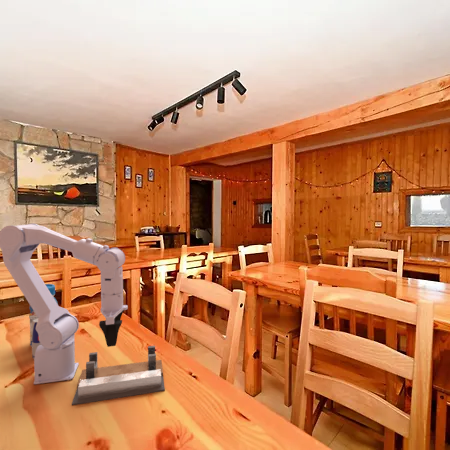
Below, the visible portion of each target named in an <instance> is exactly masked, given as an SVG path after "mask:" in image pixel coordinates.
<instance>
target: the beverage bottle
mask: <svg viewBox="0 0 450 450" xmlns="http://www.w3.org/2000/svg"><path fill="white" fill-rule="evenodd" d="M45 285H46V286H47V288H48V290H49V291H50V293H51V294H52V296H53V298H54V299H55V301H56V302H57V304H58V301H57V299H56V297H54V296H55V295H56V286H55V284H53V283H45ZM58 305H59V304H58ZM29 311H30V312H29V314H28V318H29V337H30V339H29V340H30V341H29V344H30V347H31V348H32V320H33V319H34V318H37V315H36V314H35V312H34V310H33V309H32V307H31V306H30V305H29ZM54 322H55V321H54Z"/></svg>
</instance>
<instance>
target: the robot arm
mask: <svg viewBox="0 0 450 450" xmlns="http://www.w3.org/2000/svg"><path fill="white" fill-rule="evenodd" d="M41 244H45V245H49V246H50V247H51V246H52V247H54V248H57V249H61V250H64V251H67V252H71V253H72V256H73V257H74V259H76V260H80V261H82V262H85V263H87V264H91V265H94V266H96V267H97V269H98V270H99V271H100V303H101V305H100V306H101V307H100V313H101V314H102V315H103V317H104V319H105V320H99V322H98V326H99V328H100V330H101V331H102V333H103V336H104V338H105V343H106V344H105V345H106V347H108V348H110V347H115V346H117V341H118V335H119V330H120V328H121V326H122V324H123V319H122V315H123V313H124V311H126V310H128V308H129V307H128V305H127V304H124V275H123V274H124V273H123V265H124V264H125V262H126V254H125V252H123V250H122V249H120V248H118V247H111V248H110V246H109V245H107V244H104V245H103V244H99V243H98V242H94V240H93V238H90V237H88V238H82V239H79V240H77V239H74V238H71V237H69V236H66V235H64V234H62V233H60V232H58V231H55V230H52V229H50V228H48V227H46V226H44V225H39V224H37V223H35V222H34V223H27V224H18V225H13V224H11V225H6V226H4V227H2V228H1V229H0V250H1V253H2V259H3V264H4V266H5V267H6V269H7V270H8V272H9V274H10V275H11V278H13V280H14V281H15V284H16V285H17V287H18V288H19V289H20V292H21V293H22V294H23V296H24V298H25V299H26V301H27V302H28V304H29V307H30V306H31V307H32V309H33V310H34V312H35V314H36V315H37V317H38V322H37V325H36V331H37V332H38V335H39V342H40V344H41V345H39V346H38V347H37V349H36V352H35V357H34V359H33V362H34V363H33V364H34V365H33V366H34V368H33V369H34V374H33V375H34V381H33V385H40V384H45V383H55V382H56V383H57V382H62V381H69V380H73V379H74V377H75V374H76V372H77V370H78V367H79V365H80V364H79V362H76V358H75V357H76V355H75V354H76V353H75V343H76V342H75V334H76V333H77V331H78V330H79V327H80V324H79V323H80V322H79V320H78V318H77V317H76V316H75V315H73V314H71V312H69V310H68V309H67V308H64V307H61V306H59V304H57V303H58V301H57V302H56V301H55V299H56V298H55V297H54V298H55V299H54V298H53V296H52V294H51V293H50V291H49V290H48V288H47V286H46V285H45V284H46V283H45V282H44V280H43V278H42V277H41V275H40V274H39V272H38V270H37V269H36V267H35V266H34V263H32V261H31V258H32V255H33V253H34V252H35V250H36V249H37V248H38V247H39V246H40V245H41ZM54 321H55V322H54Z"/></svg>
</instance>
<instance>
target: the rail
mask: <svg viewBox="0 0 450 450" xmlns="http://www.w3.org/2000/svg"><path fill="white" fill-rule="evenodd" d="M159 386H161V369H158V370H151V371H143V372H136V373H129V374H121V375H114V376H107V377H99V378H92V379H84V380H81V381H80V383H79V386H78V399H81V398H87V397H94V396H101V395H107V394H114V393H120V392H127V391H133V390H140V389H146V388H153V387H159Z"/></svg>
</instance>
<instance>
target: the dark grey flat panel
mask: <svg viewBox="0 0 450 450" xmlns="http://www.w3.org/2000/svg"><path fill="white" fill-rule="evenodd" d="M165 387H166V386H165V381H164V375H163V376H161V386H159V387H153V388H146V389H140V390H133V391H127V392H120V393H114V394H107V395H101V396H94V397H87V398H81V399H78V388H76V391H75V393H74V396H73V399H72V402H71V406H74V405H75V406H77V405H82V404H89V403H94V402H102V401H109V400H114V399H115V400H116V399H120V398H128V397H132V396H139V395H147V394H152V393H153V394H154V393H158V392H165V391H166V390H165V389H166V388H165Z"/></svg>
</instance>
